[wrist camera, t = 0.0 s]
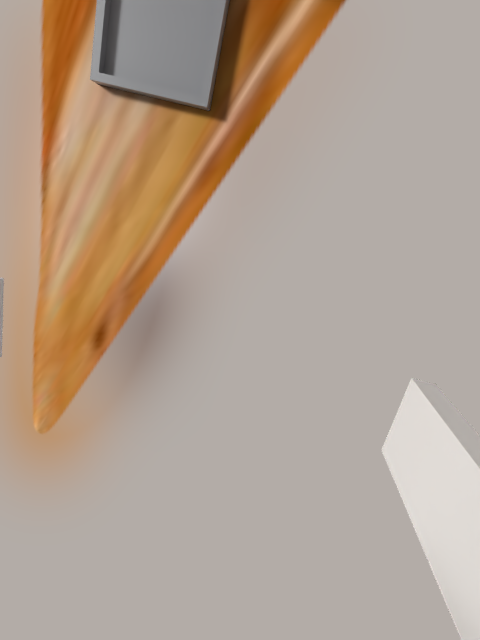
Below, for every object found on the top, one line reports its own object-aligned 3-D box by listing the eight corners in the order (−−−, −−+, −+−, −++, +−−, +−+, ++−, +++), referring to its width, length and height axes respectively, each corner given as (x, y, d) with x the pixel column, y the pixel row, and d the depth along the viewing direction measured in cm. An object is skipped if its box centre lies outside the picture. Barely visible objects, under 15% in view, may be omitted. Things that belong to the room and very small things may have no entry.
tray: (111, -59, 32) (103, -71, 30) (235, -29, 32) (233, -41, 30) (98, 84, 35) (90, 79, 34) (209, 111, 35) (206, 107, 34)
